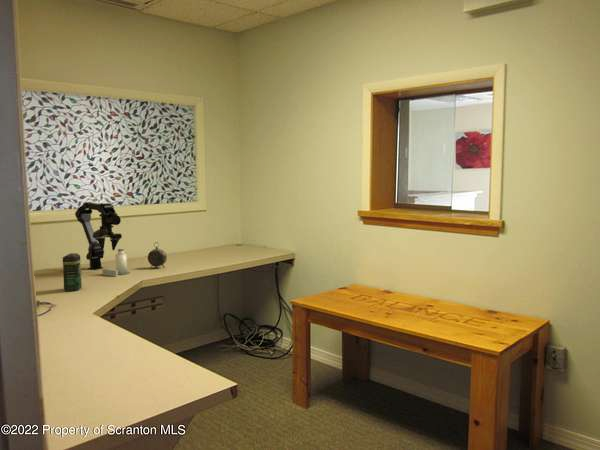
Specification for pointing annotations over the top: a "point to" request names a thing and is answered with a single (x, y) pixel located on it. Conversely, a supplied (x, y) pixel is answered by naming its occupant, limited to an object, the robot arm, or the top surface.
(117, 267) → the bottle
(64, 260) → the coffee jar
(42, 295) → the top surface
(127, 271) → the mat
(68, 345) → the top surface
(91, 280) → the top surface
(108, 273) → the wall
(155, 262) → the alarm clock
